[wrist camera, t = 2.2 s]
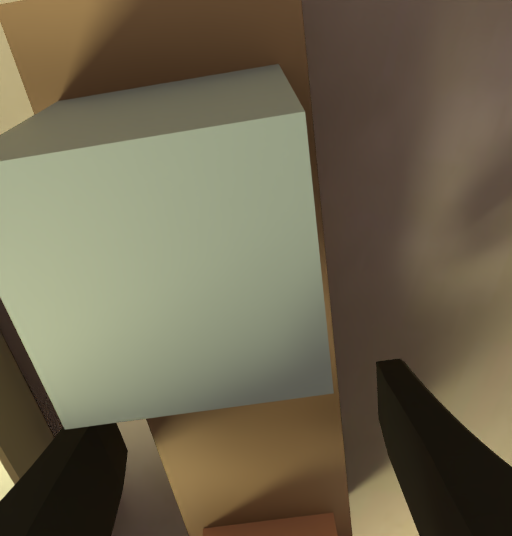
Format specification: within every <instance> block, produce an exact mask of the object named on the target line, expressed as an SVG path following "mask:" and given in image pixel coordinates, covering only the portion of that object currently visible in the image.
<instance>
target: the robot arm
mask: <svg viewBox="0 0 512 536" xmlns="http://www.w3.org/2000/svg"><path fill="white" fill-rule="evenodd" d="M376 367H377V391H378V415H379V421H380V425H381V429H382V433H383V437H384V441H385V444H386V448H387V452H388V455H389V458H390V461H391V463H392V466H393V468H394V471H395V474H396V476H397V479H398V481H399V484H400V487H401V489H402V492H403V494H404V497H405V499H406V502H407V505H408V507H409V510H410V512H411V515H412V517H413V520H414V523H415V525H416V528H417V530H418V533H419V535H420V536H512V467H511V466H510V465H509V464H508V463H506V462H505V461H504V460H503V459H501V458H500V457H499V456H498V455H496V454H495V453H494V452H493V451H492V450H490V449H489V448H488V447H487V446H486V445H485V444H483V443H482V442H481V441H480V440H479V439H478V438H477V437H476V436H475V435H473V434H472V433H471V432H470V431H469V430H468V429H467V428H466V427H465V426H464V425H463V424H461V423H460V422H459V421H458V420H457V419H456V418H455V417H454V416H453V415H452V414H451V413H450V412H449V411H448V410H447V409H446V408H445V407H444V406H443V405H442V404H441V403H440V402H439V401H438V400H437V399H436V398H435V396H434V395H433V394H432V393H431V392H430V391H429V390H428V389H427V388H426V387H425V386H424V384H423V383H422V382H421V381H420V380H419V379H418V378H417V377H416V375H415V374H414V373H413V372H412V371H411V369H410V368H409V367H408V366H407V365H406V363H405V362H404V361H403V360H401V359H393V360H386V361H378V362H376ZM127 452H128V450H127V448H126V445H125V443H124V440H123V438H122V436H121V433H120V431H119V428H118V426H117V424H116V423H110V424H103V425H95V426H88V427H80V428H73V429H66V430H65V429H64V427H63V428H62V429H61V430H60V432H59V433H58V434H57V435H56V437H55V438H54V439H53V440H52V442H51V443H50V444H49V445H48V447H47V448H46V449H45V450H44V451H43V453H42V454H41V455H40V456H39V457H38V459H37V460H36V461H35V462H34V463H33V465H32V466H31V467H30V468H29V469H28V470H27V472H26V473H25V474H24V475H23V476H22V477H21V478H20V479H19V481H18V482H17V483H16V484H15V485H14V486H13V487H12V488H11V490H10V491H9V492H8V493H7V494H6V495H5V496H4V497H3V499H2V500H1V501H0V536H111V534H112V530H113V526H114V522H115V518H116V514H117V510H118V506H119V502H120V498H121V494H122V490H123V484H124V477H125V470H126V461H127Z"/></svg>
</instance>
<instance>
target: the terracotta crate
mask: <svg viewBox="0 0 512 536" xmlns="http://www.w3.org/2000/svg"><path fill="white" fill-rule="evenodd" d="M203 536H337V530H336V525H335V519H334V514H333V513H325V514H317V515H309V516H301V517H293V518H284V519H276V520H268V521H260V522H252V523H244V524H235V525H227V526H219V527H211V528H203Z"/></svg>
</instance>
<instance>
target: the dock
mask: <svg viewBox="0 0 512 536" xmlns="http://www.w3.org/2000/svg"><path fill="white" fill-rule="evenodd" d="M53 439H54V436H53V434H52V432H51V430H50V428H49V426H48V425H47V423H46V421H45V419H44V417H43V415H42V413H41V411H40V409H39V407H38V405H37V403H36V401H35V399H34V397H33V395H32V393H31V391H30V389H29V387H28V385H27V383H26V381H25V379H24V377H23V375H22V373H21V371H20V369H19V367H18V365H17V363H16V362H15V360H14V358H13V356H12V354H11V352H10V350H9V348H8V346H7V344H6V342H5V340H4V338H3V336H2V334H1V332H0V501H1V500H2V499H3V497H4V496H5V495H6V494H7V493H8V492H9V491H10V490H11V488H12V487H13V486H14V485H15V484H16V483H17V482H18V481H19V479H20V478H21V477H22V476H23V475H24V474H25V473H26V472H27V470H28V469H29V468H30V467H31V466H32V465H33V463H34V462H35V461H36V460H37V459H38V457H39V456H40V455H41V454H42V453H43V451H44V450H45V449H46V448H47V447H48V445H49V444H50V443H51V442H52V440H53Z"/></svg>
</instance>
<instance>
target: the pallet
mask: <svg viewBox="0 0 512 536" xmlns="http://www.w3.org/2000/svg"><path fill="white" fill-rule="evenodd" d="M0 22H1V24H2V27H3V30H4V33H5V35H6V38H7V41H8V44H9V46H10V49H11V52H12V54H13V57H14V60H15V63H16V65H17V68H18V71H19V74H20V76H21V79H22V82H23V84H24V87H25V90H26V93H27V95H28V98H29V101H30V104H31V106H32V109H33V112H34V114H37V113H39V112H40V111H42V110H44V109H46V108H47V107H49V106H51V105H52V104H54V103H56V102H57V101H62V100H68V99H74V98H79V97H85V96H91V95H97V94H103V93H109V92H115V91H121V90H127V89H133V88H139V87H145V86H151V85H156V84H162V83H168V82H174V81H180V80H186V79H192V78H198V77H204V76H210V75H216V74H222V73H228V72H233V71H239V70H245V69H251V68H257V67H263V66H269V65H275V64H279V65H280V67H281V69H282V71H283V73H284V74H285V76H286V78H287V80H288V82H289V83H290V85H291V87H292V89H293V91H294V92H295V94H296V96H297V98H298V100H299V101H300V103H301V105H302V107H303V109H304V110H305V116H306V125H307V135H308V145H309V155H310V165H311V175H312V184H313V194H314V204H315V214H316V224H317V234H318V243H319V253H320V263H321V273H322V283H323V293H324V302H325V312H326V322H327V332H328V342H329V352H330V361H331V371H332V381H333V391H334V393H333V394H326V395H318V396H311V397H303V398H296V399H288V400H281V401H274V402H266V403H259V404H251V405H244V406H236V407H229V408H222V409H214V410H207V411H199V412H192V413H184V414H177V415H170V416H162V417H155V418H147V419H146V420H147V422H148V425H149V428H150V431H151V433H152V436H153V439H154V441H155V444H156V447H157V450H158V452H159V455H160V458H161V461H162V463H163V466H164V469H165V471H166V474H167V477H168V480H169V482H170V485H171V488H172V491H173V493H174V496H175V499H176V501H177V504H178V507H179V510H180V512H181V515H182V518H183V521H184V523H185V526H186V529H187V531H188V534H189V536H203V528H211V527H219V526H227V525H235V524H244V523H252V522H260V521H268V520H276V519H284V518H293V517H301V516H309V515H317V514H325V513H333V514H334V519H335V525H336V530H337V536H352V528H351V517H350V507H349V496H348V486H347V475H346V465H345V454H344V444H343V433H342V423H341V412H340V402H339V391H338V381H337V370H336V360H335V349H334V339H333V328H332V318H331V307H330V297H329V286H328V276H327V265H326V255H325V244H324V234H323V223H322V212H321V202H320V191H319V181H318V170H317V160H316V149H315V139H314V128H313V118H312V107H311V97H310V86H309V76H308V65H307V55H306V44H305V34H304V23H303V13H302V2H301V0H22V1H16V2H11V3H5V4H0Z"/></svg>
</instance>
